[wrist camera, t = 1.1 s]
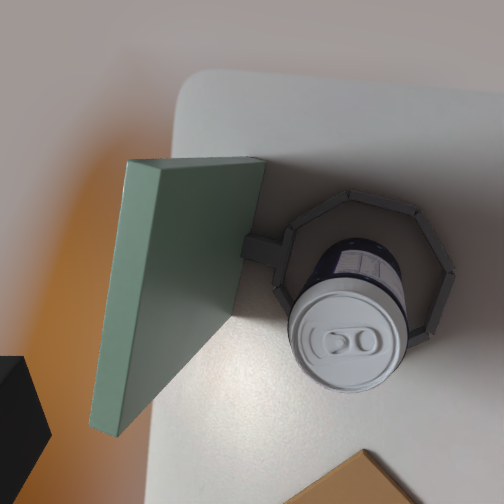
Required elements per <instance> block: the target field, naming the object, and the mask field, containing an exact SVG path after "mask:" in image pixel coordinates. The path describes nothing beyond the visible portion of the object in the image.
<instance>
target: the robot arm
mask: <svg viewBox="0 0 504 504" xmlns="http://www.w3.org/2000/svg"><path fill="white" fill-rule="evenodd" d="M51 436H52V434H51V431H50V428H49V426H48V423H47V420H46V417H45V415H44V412H43V409H42V406H41V403H40V401H39V398H38V395H37V392H36V390H35V387H34V384H33V381H32V379H31V376H30V373H29V370H28V367H27V365H26V362H25V359H24V356H0V504H13V502H14V501H15V499H16V497H17V495H18V493H19V492H20V490H21V488H22V487H23V485H24V483H25V481H26V479H27V478H28V476H29V474H30V473H31V471H32V469H33V467H34V465H35V464H36V462H37V460H38V459H39V457H40V455H41V453H42V452H43V450H44V448H45V446H46V445H47V443H48V441H49V439H50V438H51Z"/></svg>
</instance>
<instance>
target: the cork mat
mask: <svg viewBox="0 0 504 504" xmlns="http://www.w3.org/2000/svg"><path fill="white" fill-rule="evenodd" d="M284 504H415V503H414V502H413V501H412V500H411V498H410V497H409V496H408V495H407V494H406V493H405V492H404V491H403V490H402V489H401V488H400V487H399V486H398V485H397V484H396V483H395V482H394V481H393V480H392V478H391V477H390V476H389V475H388V474H387V473H386V472H385V471H384V470H383V469H382V468H381V467H380V466H379V465H378V464H377V463H376V462H375V461H374V460H373V458H372V457H371V456H370V455H369V454H368V453H367V452H366V451H365V450H364V449H362V450H361V451H359V452H358V453H356V454H355V455H353V456H352V457H350V458H349V459H348V460H346V461H345V462H343V463H342V464H340V465H339V466H337V467H336V468H334V469H333V470H332V471H330V472H329V473H327V474H326V475H324V476H323V477H321V478H320V479H318V480H317V481H316V482H314V483H313V484H311V485H310V486H308V487H307V488H305V489H304V490H303V491H301V492H300V493H298V494H297V495H295V496H294V497H292V498H291V499H289V500H288V501H287V502H285V503H284Z"/></svg>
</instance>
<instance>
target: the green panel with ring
mask: <svg viewBox="0 0 504 504" xmlns="http://www.w3.org/2000/svg"><path fill="white" fill-rule="evenodd" d="M265 166H266V161H264V160H260V159H256V158H252V157H248V156H247V157H209V158H171V159H133V160H128V161H127V167H126V174H125V181H124V188H123V194H122V201H121V208H120V215H119V222H118V229H117V236H116V242H115V250H114V256H113V263H112V270H111V277H110V283H109V291H108V297H107V304H106V311H105V318H104V325H103V331H102V338H101V345H100V352H99V359H98V366H97V373H96V379H95V386H94V393H93V400H92V407H91V415H90V421H89V426H90V427H92V428H94V429H97V430H99V431H102V432H104V433H106V434H109V435H111V436H114V437H119V435H120V434H121V433H122V432H123V431H124V430H125V429H126V428H127V427H128V426H129V425H130V423H132V422H133V420H134V419H135V418H136V417H137V416H138V415H139V414H140V413H141V412H142V411H143V410H144V409H145V407H147V405H148V404H149V403H150V402H151V401H152V400H153V399H154V398H155V397H156V396H157V395H158V394H159V393H160V392H161V391H162V389H163V388H164V387H165V386H166V385H167V384H168V383H169V382H170V381H171V380H172V379H173V378H174V377H175V376H176V374H177V373H178V372H179V371H180V370H181V369H182V368H183V367H184V366H185V365H186V364H187V363H188V362H189V361H190V359H191V358H192V357H193V356H194V355H195V354H196V353H197V352H198V351H199V350H200V349H201V348H202V347H203V346H204V344H205V343H206V342H207V341H208V340H209V339H210V338H211V337H212V336H213V335H214V334H215V333H216V332H217V331H218V330H219V328H220V327H221V326H222V325H223V324H224V323H225V322H226V321H227V320H228V319H229V318H230V317H231V315H232V311H233V306H234V302H235V298H236V293H237V289H238V285H239V280H240V276H241V271H242V267H243V263H244V258H246V259H249V260H253V261H256V262H259V263H263V264H266V265H269V266H273V267H276V269H275V273H274V277H273V281H272V285H275V286H276V287H275V288H274V289H273V292H274V294H275V295H276V297H277V299H278V300H279V302H280V304H281V306H282V307H283V309H284V311H285V312H286V314H287V316H288V317H289V314H290V310H291V308H292V306H293V304H294V301H293V299H292V297H291V296H290V294H289V292H288V291H287V289H286V287H285V286H284V284H283V280H284V276H285V272H286V268H287V265H288V261H289V257H290V253H291V249H292V245H293V241H294V237H295V233H296V229H297V228H299V227H301V226H303V225H304V224H306V223H308V222H310V221H311V220H313V219H315V218H317V217H318V216H320V215H322V214H324V213H325V212H327V211H329V210H331V209H332V208H334V207H336V206H338V205H339V204H341V203H343V202H345V201H346V200H348V199H349V200H353V201H357V202H360V203H364V204H368V205H372V206H376V207H380V208H384V209H388V210H392V211H395V212H399V213H403V214H407V215H411V216H414V218H415V220H416V222H417V223H418V225H419V227H420V229H421V230H422V232H423V234H424V235H425V237H426V239H427V241H428V242H429V244H430V246H431V248H432V249H433V251H434V253H435V255H436V256H437V258H438V260H439V262H440V263H441V265H442V267H443V272H442V275H441V278H440V281H439V284H438V286H437V289H436V292H435V295H434V298H433V300H432V303H431V306H430V309H429V312H428V315H427V317H426V320H425V323H424V326H422V327H420V328H417V329H415V330H413V331H410V332H409V343H408V348H410V347H413V346H415V345H417V344H420V343H422V342H424V341H427V340H429V335H428V333H430V334H433V335H434V334H435V331H436V328H437V326H438V323H439V320H440V317H441V315H442V312H443V309H444V306H445V304H446V301H447V298H448V295H449V293H450V290H451V287H452V284H453V282H454V279H455V276H456V275H455V274H454V272H453V271H452V270H454V269H455V267H454V266H453V264H452V262H451V260H450V259H449V257H448V255H447V253H446V252H445V250H444V248H443V246H442V245H441V243H440V241H439V239H438V238H437V236H436V234H435V232H434V231H433V229H432V227H431V225H430V224H429V222H428V220H427V218H426V217H425V215H424V213H423V212H422V210H421V209H420V210H418V211H416V206H415V205H413V204H409V203H405V202H401V201H397V200H393V199H389V198H385V197H381V196H377V195H373V194H369V193H365V192H361V191H357V190H354V189H352V190H351V191H350V194H349V195H348V193H347V192H346V190H344V191H343V192H341V193H339V194H337V195H336V196H334V197H332V198H331V199H329V200H327V201H325V202H324V203H322V204H320V205H318V206H317V207H315V208H313V209H312V210H310V211H308V212H306V213H305V214H303V215H301V216H300V217H298V218H296V219H294V220H293V221H291V222H290V225H291V226H288V227H287V228H286V229H285V233H284V237H283V241H282V242H280V241H276V240H273V239H269V238H266V237H262V236H259V235H255V234H252V233H250V232H251V227H252V223H253V219H254V214H255V210H256V206H257V201H258V197H259V192H260V188H261V184H262V179H263V175H264V170H265ZM415 211H416V212H415ZM408 348H407V349H408Z"/></svg>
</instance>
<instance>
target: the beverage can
mask: <svg viewBox="0 0 504 504" xmlns="http://www.w3.org/2000/svg"><path fill="white" fill-rule="evenodd" d="M288 338H289V342H290V345H291V348H292V352H293V355H294V357H295V360H296V361H297V363H298V365H299V367H300V368H301V369H302V371H303V372H304V373H305V374H306V375H307V376H308V377H309V378H310V379H311V380H313V381H314V382H315V383H317V384H319V385H320V386H322V387H324V388H327V389H329V390H332V391H336V392H340V393H359V392H363V391H367V390H370V389H372V388H375V387H376V386H378V385H380V384H381V383H382V382H384V381H385V380H386V379H387V378H388V377H389V376H390V375H391V374H392V373H393V372H394V371H395V370H396V369H397V368H398V366H399V365H400V364H401V362H402V360H403V358H404V356H405V354H406V351H407V348H408V343H409V327H408V320H407V313H406V306H405V299H404V292H403V285H402V278H401V272H400V268H399V265H398V263H397V261H396V259H395V258H394V256H393V255H392V254H391V253H390V252H389V251H388V250H387V249H386V248H385V247H383V246H382V245H380V244H378V243H376V242H374V241H371V240H368V239H362V238H353V239H347V240H343V241H340V242H338V243H336V244H334V245H333V246H331V247H330V248H329V249H328V250H327V251H326V252H325V253H324V254H323V256H322V257H321V259H320V260H319V262H318V264H317V265H316V267H315V269H314V270H313V272H312V274H311V275H310V277H309V279H308V280H307V282H306V284H305V285H304V287H303V289H302V290H301V292H300V294H299V295H298V297H297V299H296V300H295V302H294V304H293V306H292V308H291V310H290V314H289V318H288Z"/></svg>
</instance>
